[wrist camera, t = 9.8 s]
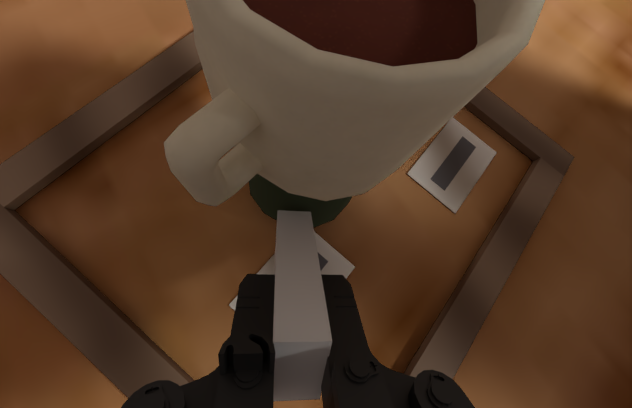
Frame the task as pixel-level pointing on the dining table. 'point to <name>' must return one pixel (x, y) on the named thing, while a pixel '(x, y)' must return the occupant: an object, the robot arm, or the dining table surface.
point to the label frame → (154, 364)
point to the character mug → (332, 92)
